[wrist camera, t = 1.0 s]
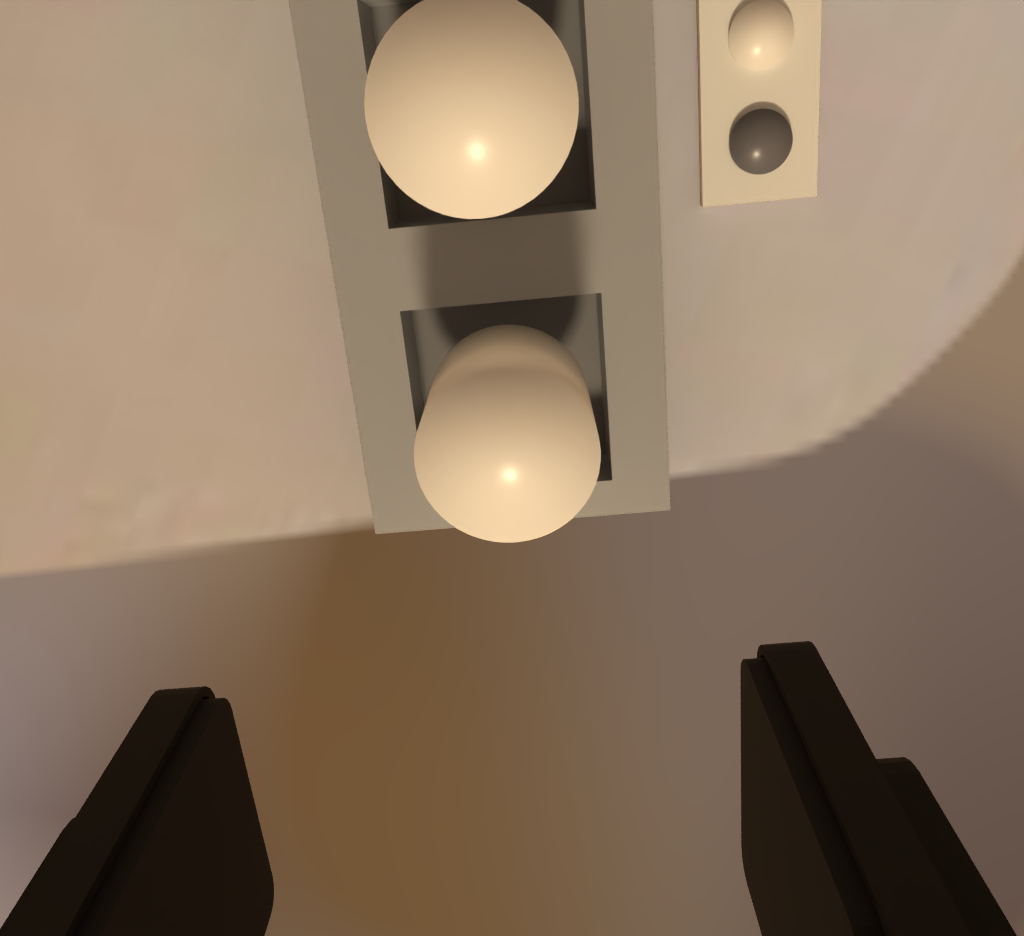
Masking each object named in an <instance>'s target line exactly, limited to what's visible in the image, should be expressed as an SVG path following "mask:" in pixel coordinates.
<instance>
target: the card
mask: <svg viewBox="0 0 1024 936" xmlns="http://www.w3.org/2000/svg"><path fill="white" fill-rule="evenodd" d="M821 2H822V0H697V41H698V92H699V144H700V195H701V206H702V207H707V206H717V205H728V204H738V203H749V202H759V201H770V200H780V199H791V198H801V197H812V196H817V165H818V124H819V83H820V43H821Z"/></svg>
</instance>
